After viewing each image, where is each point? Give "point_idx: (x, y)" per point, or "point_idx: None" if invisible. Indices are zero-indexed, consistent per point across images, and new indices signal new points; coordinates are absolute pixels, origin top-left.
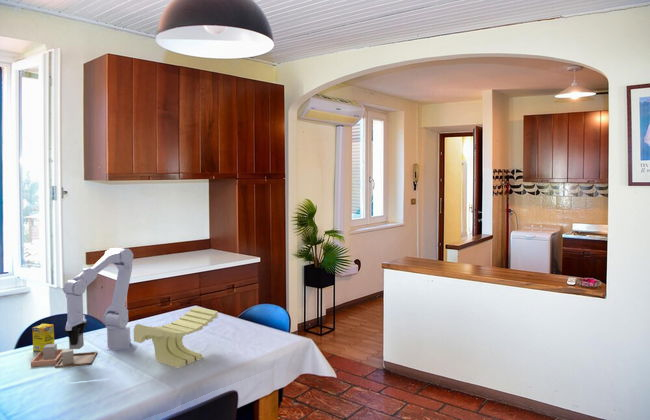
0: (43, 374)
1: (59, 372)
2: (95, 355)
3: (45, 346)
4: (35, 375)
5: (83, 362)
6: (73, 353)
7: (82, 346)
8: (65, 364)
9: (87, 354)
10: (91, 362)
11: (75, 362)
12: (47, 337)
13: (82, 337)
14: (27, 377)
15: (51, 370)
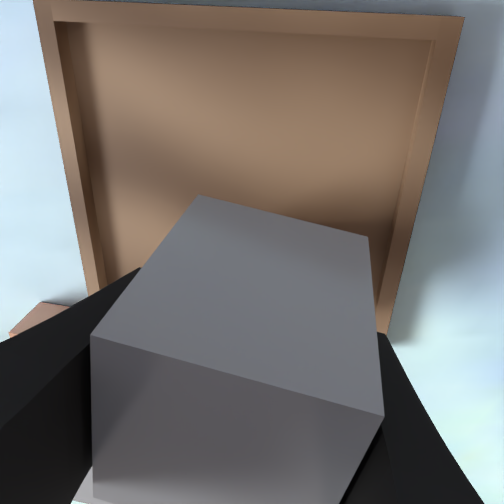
0: (473, 409)
1: (497, 314)
2: (157, 3)
3: (94, 498)
4: (463, 447)
5: (339, 126)
6: (80, 252)
7: (251, 208)
8: (382, 295)
9: (84, 116)
10: (422, 15)
11: (306, 209)
12: None
13: (186, 294)
14: (478, 481)
15: (403, 367)
